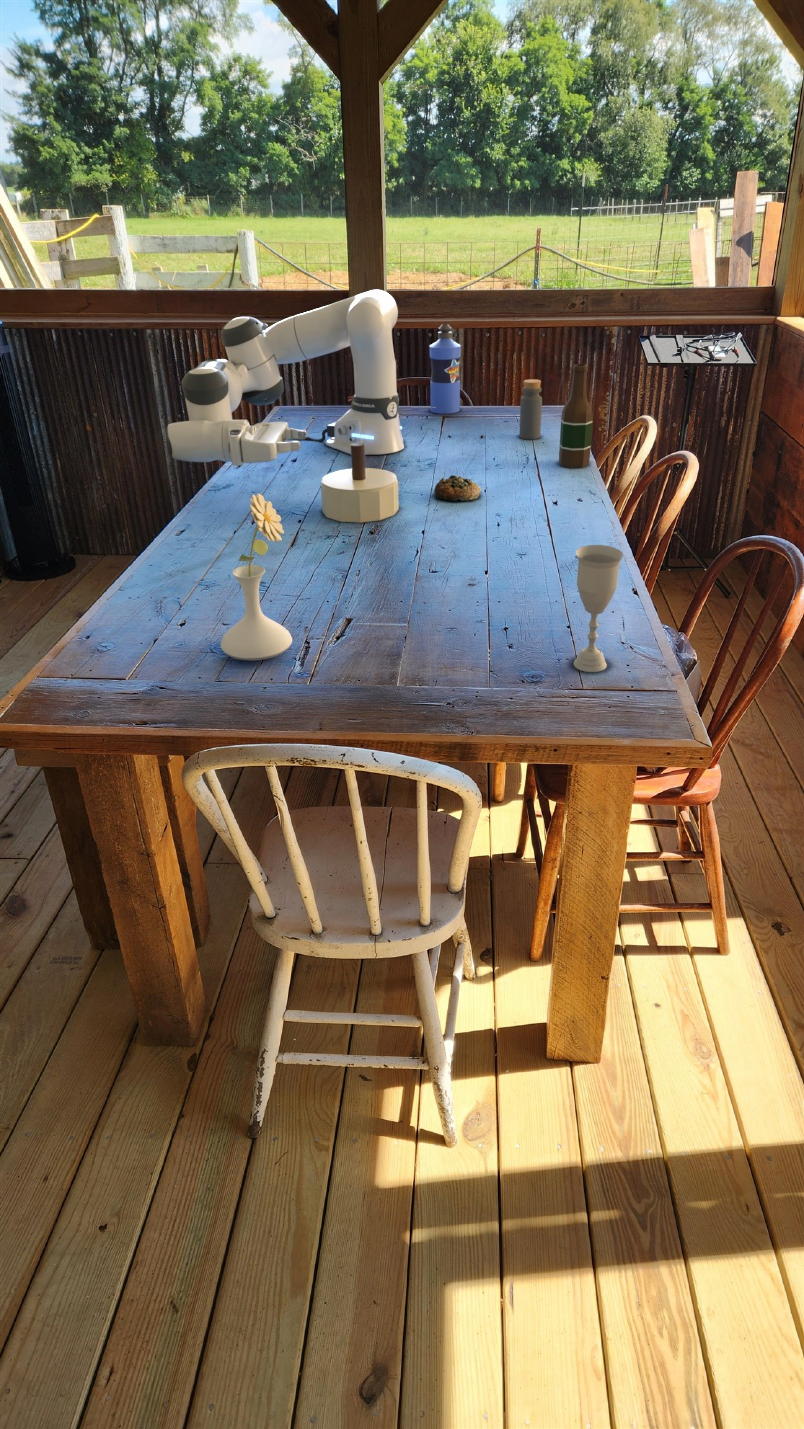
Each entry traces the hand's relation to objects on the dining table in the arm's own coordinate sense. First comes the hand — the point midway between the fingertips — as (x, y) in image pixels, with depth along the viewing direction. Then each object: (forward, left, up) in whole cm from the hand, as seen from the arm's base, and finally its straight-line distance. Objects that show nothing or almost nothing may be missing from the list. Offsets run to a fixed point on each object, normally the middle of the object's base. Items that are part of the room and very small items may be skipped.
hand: (303, 439), depth 208 cm
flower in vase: (+47, -52, -16) cm, 72 cm away
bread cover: (+9, +8, -16) cm, 20 cm away
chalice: (+90, -22, -16) cm, 94 cm away
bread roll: (+19, +30, -16) cm, 39 cm away
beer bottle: (+25, +68, -16) cm, 74 cm away
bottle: (0, +83, -16) cm, 84 cm away
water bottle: (-40, +93, -16) cm, 102 cm away
